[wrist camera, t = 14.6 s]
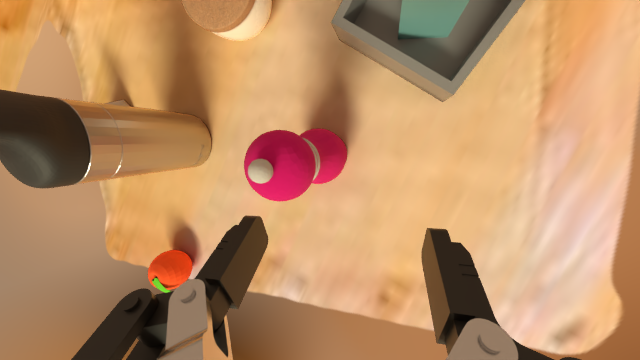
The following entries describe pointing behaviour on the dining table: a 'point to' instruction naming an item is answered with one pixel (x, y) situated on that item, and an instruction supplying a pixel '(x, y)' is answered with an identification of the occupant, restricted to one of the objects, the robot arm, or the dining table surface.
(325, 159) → the pepper mill
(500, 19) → the tray
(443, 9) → the teal crate
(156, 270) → the clementine
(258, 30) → the lidded jar
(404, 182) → the dining table surface
